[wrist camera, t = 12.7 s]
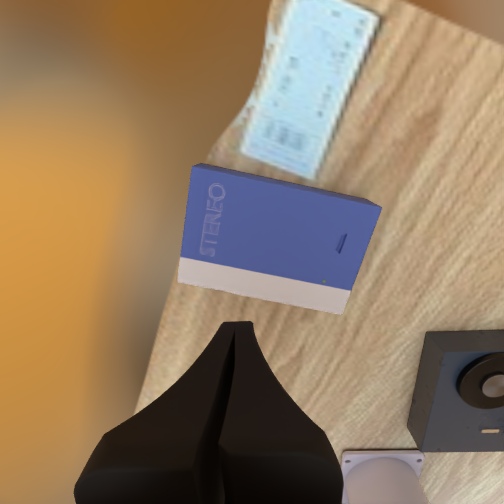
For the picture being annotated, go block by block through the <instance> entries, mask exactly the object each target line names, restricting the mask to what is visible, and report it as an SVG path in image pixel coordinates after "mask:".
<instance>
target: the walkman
mask: <svg viewBox="0 0 504 504" xmlns="http://www.w3.org/2000/svg"><path fill="white" fill-rule="evenodd" d="M381 209H382V207H380V206H378V205H376V204H374V203H373V202H371V201H369V200H367V199H363V198H358V197H354V196H349V195H345V194H340V193H336V192H331V191H326V190H322V189H317V188H313V187H308V186H304V185H299V184H294V183H290V182H285V181H281V180H276V179H272V178H267V177H262V176H258V175H253V174H249V173H244V172H240V171H235V170H230V169H226V168H221V167H217V166H212V165H207V164H203V163H200V164H197V165H194V166H192V170H191V178H190V185H189V193H188V201H187V210H186V217H185V225H184V232H183V240H182V247H181V255H180V262H179V270H178V278H177V282H179V283H183V284H189V285H194V286H199V287H204V288H210V289H214V290H219V291H224V292H230V293H233V294H237V295H242V296H247V297H252V298H257V299H262V300H267V301H273V302H278V303H283V304H288V305H293V306H298V307H303V308H309V309H314V310H319V311H324V312H329V313H334V314H339V315H342V314H343V311H344V309H345V306H346V303H347V301H348V298H349V295H350V293H351V290H352V287H353V284H354V282H355V279H356V276H357V274H358V271H359V268H360V266H361V263H362V260H363V258H364V255H365V252H366V249H367V247H368V244H369V241H370V239H371V236H372V233H373V231H374V228H375V225H376V223H377V220H378V217H379V215H380V212H381Z"/></svg>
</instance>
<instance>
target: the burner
mask: <svg viewBox="0 0 504 504" xmlns="http://www.w3.org/2000/svg"><path fill="white" fill-rule="evenodd" d="M456 389H457V392H458V394H459V396H460V397H461V398H462V399H463V401H464V402H465V403H467V404H468V405H470V406H472V407H475V408H479V409H495V408H499V407H503V406H504V353H502V352H499V353H491V354H487V355H484V356H481V357H479V358H477V359H475V360H473V361H472V362H470V363H469V364H468V365H467V366H465V367H464V368H463V370H462V371H461V372H460V374H459V376H458V378H457V381H456Z"/></svg>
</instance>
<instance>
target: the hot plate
mask: <svg viewBox="0 0 504 504" xmlns="http://www.w3.org/2000/svg"><path fill="white" fill-rule="evenodd" d="M499 352H502V353H504V330H482V331H445V332H427V333H426V337H425V342H424V347H423V352H422V357H421V361H420V366H419V371H418V376H417V381H416V386H415V391H414V395H413V400H412V405H411V410H410V415H409V420H408V425H407V427H408V429H409V431H410V433H411V435H412V437H413V439H414V441H415V443H416V445H417V446H418V448H419V450H420V452H497V451H504V406H503V407H499V408H495V409H479V408H475V407H472V406H470V405H468V404H467V403H465V402H464V401H463V399H462V398H461V397H460V396H459V394H458V392H457V389H456V381H457V378H458V376H459V374H460V372H461V371H462V370H463V368H464V367H465V366H467V365H468V364H469V363H470V362H472V361H473V360H475V359H477V358H479V357H481V356H484V355H487V354H491V353H499Z"/></svg>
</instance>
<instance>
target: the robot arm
mask: <svg viewBox="0 0 504 504" xmlns="http://www.w3.org/2000/svg"><path fill="white" fill-rule="evenodd" d="M424 458H425V455H424V453H423V452H420V450H389V451H345V452H343V454H342V461H341V467H340V465H339V462H338V459H337V457H336V454H335V452H334V450H333V448H332V446H331V444H330V442H329V440H328V438H327V436H326V434H325V432H324V431H323V430H322V429H321V428H320V427H319V426H318V425H316V424H315V423H314V422H313V421H312V420H311V419H310V418H309V417H308V416H307V415H306V414H305V413H304V412H303V411H302V410H301V409H300V407H299V406H298V405H297V404H296V403H295V402H294V401H293V399H292V398H291V397H290V396H289V395H288V393H287V392H286V391H285V390H284V388H283V387H282V385H281V384H280V383H279V381H278V380H277V378H276V377H275V375H274V374H273V372H272V370H271V369H270V367H269V365H268V363H267V362H266V360H265V358H264V356H263V354H262V351H261V349H260V347H259V345H258V342H257V339H256V336H255V333H254V328H253V323H252V322H251V321H238V322H223V323H222V324H221V325H220V327H219V329H218V331H217V332H216V334H215V335H214V337H213V338H212V340H211V341H210V343H209V344H208V345H207V347H206V348H205V349H204V351H203V352H202V353H201V355H200V356H199V357H198V358H197V360H196V361H195V362H194V363H193V364H192V366H191V367H190V368H189V369H188V370H187V371H186V372H185V373H184V374H183V375H182V376H181V377H180V378H179V379H178V380H177V381H176V382H175V383H174V384H173V385H172V386H171V387H170V388H169V389H168V390H167V391H165V392H164V393H163V394H162V395H161V396H160V397H158V398H157V399H156V400H155V401H153V402H152V403H151V404H149V405H148V406H147V407H145V408H144V409H143V410H141V411H140V412H138V413H137V414H135V415H134V416H133V417H131V418H129V419H128V420H126V421H125V422H123V423H121V424H120V425H118V426H117V427H115V428H113V429H112V430H110V431H109V432H107V433H105V434H104V435H103V437H102V439H101V440H100V442H99V443H98V445H97V446H96V448H95V449H94V451H93V453H92V455H91V456H90V458H89V460H88V462H87V464H86V466H85V467H84V469H83V471H82V473H81V475H80V477H79V479H78V481H77V482H76V484H75V488H74V497H75V501H76V504H430V502H429V500H428V498H427V496H426V494H425V492H424V490H423V488H422V486H421V484H420V481H419V478H420V474H421V470H422V466H423V462H424Z"/></svg>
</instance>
